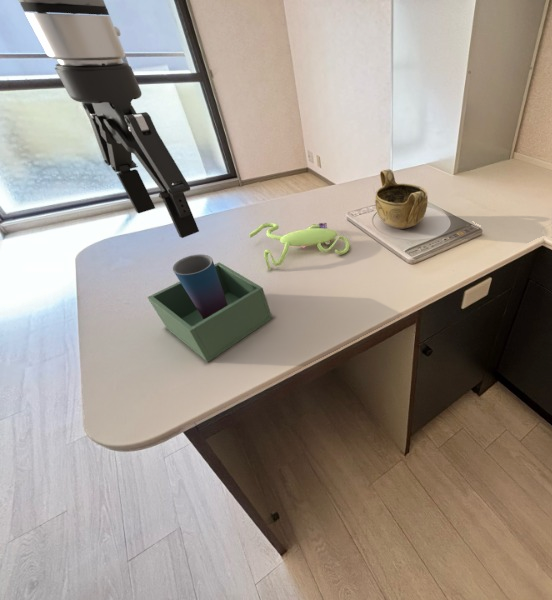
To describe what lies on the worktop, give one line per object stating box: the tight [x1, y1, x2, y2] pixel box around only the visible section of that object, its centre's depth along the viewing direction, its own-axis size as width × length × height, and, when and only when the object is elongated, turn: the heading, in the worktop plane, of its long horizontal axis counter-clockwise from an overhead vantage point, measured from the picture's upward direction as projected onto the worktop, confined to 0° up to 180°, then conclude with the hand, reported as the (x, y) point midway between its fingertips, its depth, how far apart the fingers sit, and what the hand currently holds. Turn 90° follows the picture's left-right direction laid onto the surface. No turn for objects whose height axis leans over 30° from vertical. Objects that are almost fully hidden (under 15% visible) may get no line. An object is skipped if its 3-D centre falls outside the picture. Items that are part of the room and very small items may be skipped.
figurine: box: [248, 222, 350, 271], centre depth 95 cm, size 18×27×6 cm
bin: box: [147, 262, 273, 363], centre depth 69 cm, size 16×16×9 cm
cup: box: [172, 253, 228, 319], centre depth 67 cm, size 7×7×15 cm
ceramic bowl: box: [374, 168, 429, 230], centre depth 105 cm, size 22×17×15 cm
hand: (166, 221), depth 53 cm, fingers open, 13 cm apart
